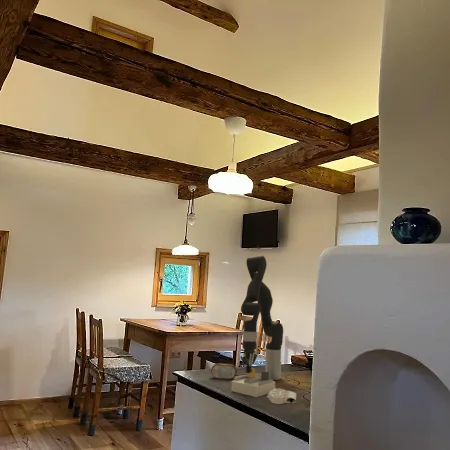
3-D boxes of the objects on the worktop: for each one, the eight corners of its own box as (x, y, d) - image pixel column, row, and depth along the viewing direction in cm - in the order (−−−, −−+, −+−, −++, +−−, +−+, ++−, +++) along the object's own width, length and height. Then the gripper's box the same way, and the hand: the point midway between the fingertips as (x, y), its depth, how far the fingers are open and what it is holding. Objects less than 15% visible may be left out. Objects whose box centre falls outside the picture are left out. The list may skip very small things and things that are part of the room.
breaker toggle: (249, 377, 244) (249, 367, 245) (256, 378, 241) (256, 368, 242) (246, 377, 242) (246, 368, 242) (252, 379, 239) (253, 369, 239)
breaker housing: (250, 385, 246) (250, 373, 247) (274, 391, 236) (275, 378, 237) (231, 391, 233) (231, 378, 234) (256, 397, 223) (257, 383, 224)
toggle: (263, 380, 238) (263, 370, 239) (270, 381, 236) (270, 371, 236) (259, 380, 236) (260, 371, 237) (266, 382, 233) (267, 372, 234)
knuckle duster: (295, 406, 211) (264, 403, 214) (296, 396, 229) (267, 394, 232) (295, 399, 212) (264, 396, 215) (296, 390, 229) (268, 387, 232)
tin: (236, 378, 262) (237, 364, 263) (236, 380, 259) (236, 365, 260) (211, 377, 264) (211, 362, 265) (210, 378, 261) (211, 363, 262)
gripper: (251, 338, 249) (250, 370, 247) (236, 339, 239) (235, 373, 237) (262, 339, 245) (261, 372, 242) (248, 341, 234) (246, 375, 232)
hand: (248, 372), depth 240 cm, fingers closed
